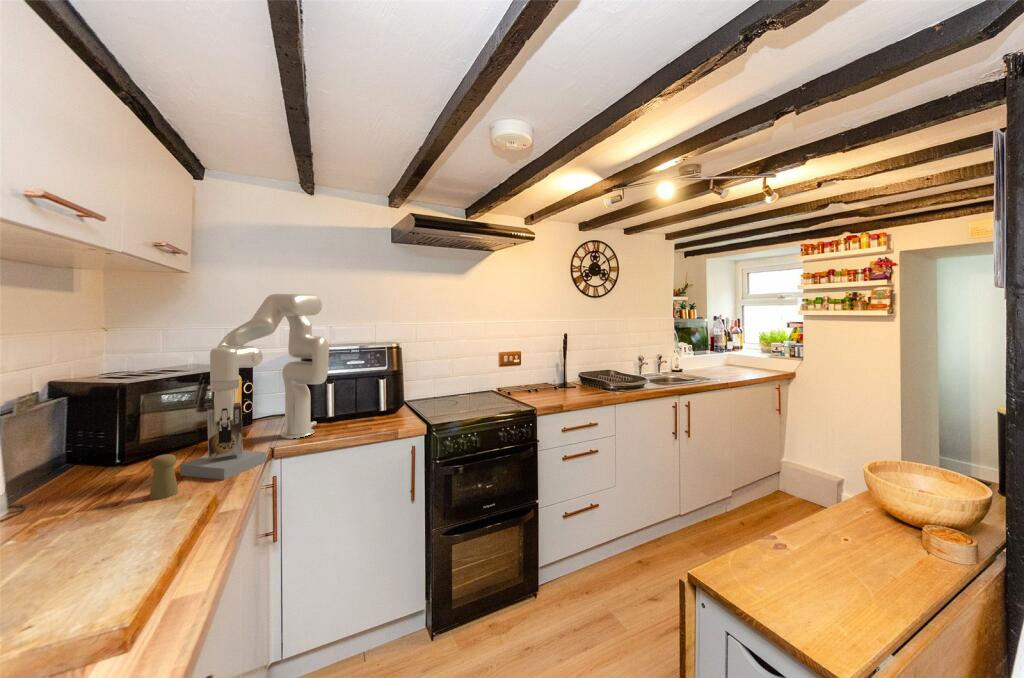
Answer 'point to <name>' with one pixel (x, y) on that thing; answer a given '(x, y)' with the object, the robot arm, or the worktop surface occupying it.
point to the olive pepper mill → (163, 477)
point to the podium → (222, 465)
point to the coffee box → (236, 434)
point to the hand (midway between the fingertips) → (225, 439)
